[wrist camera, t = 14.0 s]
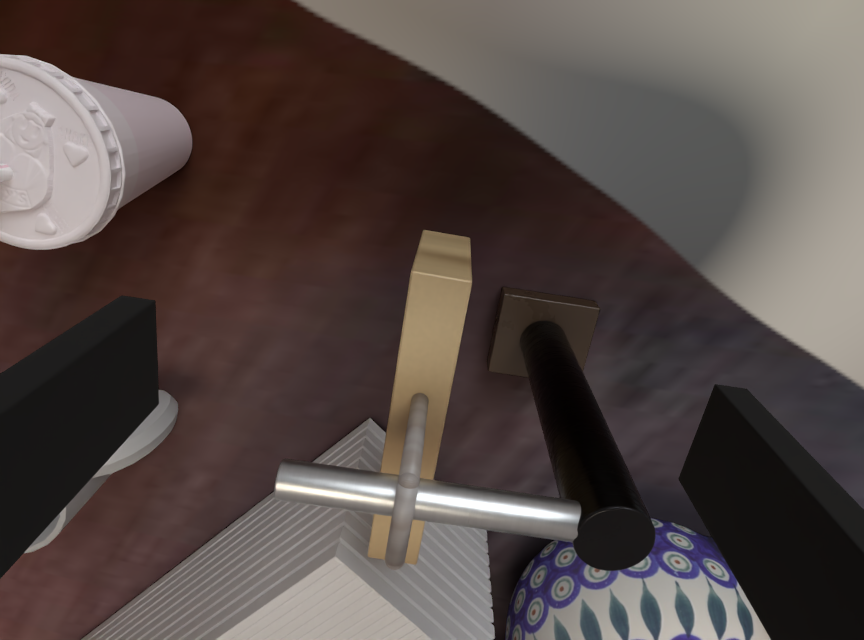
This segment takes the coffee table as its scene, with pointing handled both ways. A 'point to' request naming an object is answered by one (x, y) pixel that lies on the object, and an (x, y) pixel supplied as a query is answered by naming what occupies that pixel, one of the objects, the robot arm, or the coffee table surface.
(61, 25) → the coffee table surface
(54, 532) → the cup
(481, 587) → the stack of papers
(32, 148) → the smoothie
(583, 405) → the stand
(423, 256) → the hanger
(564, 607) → the teapot
